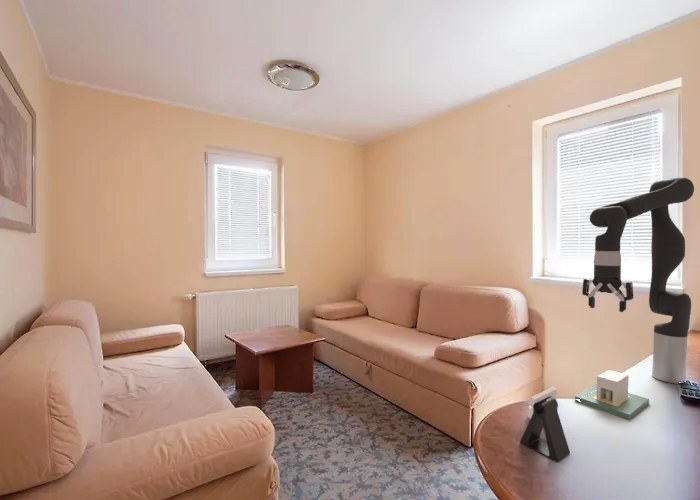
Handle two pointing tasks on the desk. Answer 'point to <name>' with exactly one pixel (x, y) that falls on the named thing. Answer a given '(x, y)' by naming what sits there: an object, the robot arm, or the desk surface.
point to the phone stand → (546, 431)
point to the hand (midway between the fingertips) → (606, 309)
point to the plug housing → (613, 385)
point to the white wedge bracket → (547, 393)
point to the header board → (622, 409)
